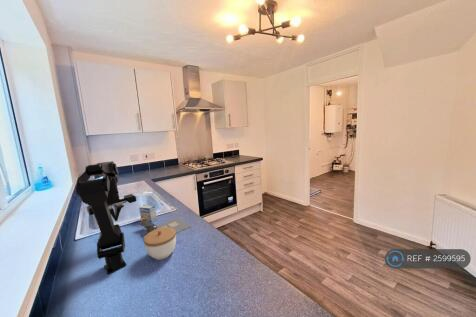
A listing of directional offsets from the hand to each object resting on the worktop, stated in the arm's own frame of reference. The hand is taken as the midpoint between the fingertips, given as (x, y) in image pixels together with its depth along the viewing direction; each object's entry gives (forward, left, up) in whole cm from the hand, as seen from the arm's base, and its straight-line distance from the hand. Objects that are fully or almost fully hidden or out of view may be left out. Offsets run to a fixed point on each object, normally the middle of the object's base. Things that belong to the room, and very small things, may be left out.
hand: (116, 220), depth 91 cm
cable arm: (-1, -14, -10) cm, 17 cm away
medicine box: (+14, -19, -12) cm, 27 cm away
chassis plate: (-6, -21, -12) cm, 25 cm away
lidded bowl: (-24, -10, -12) cm, 29 cm away
